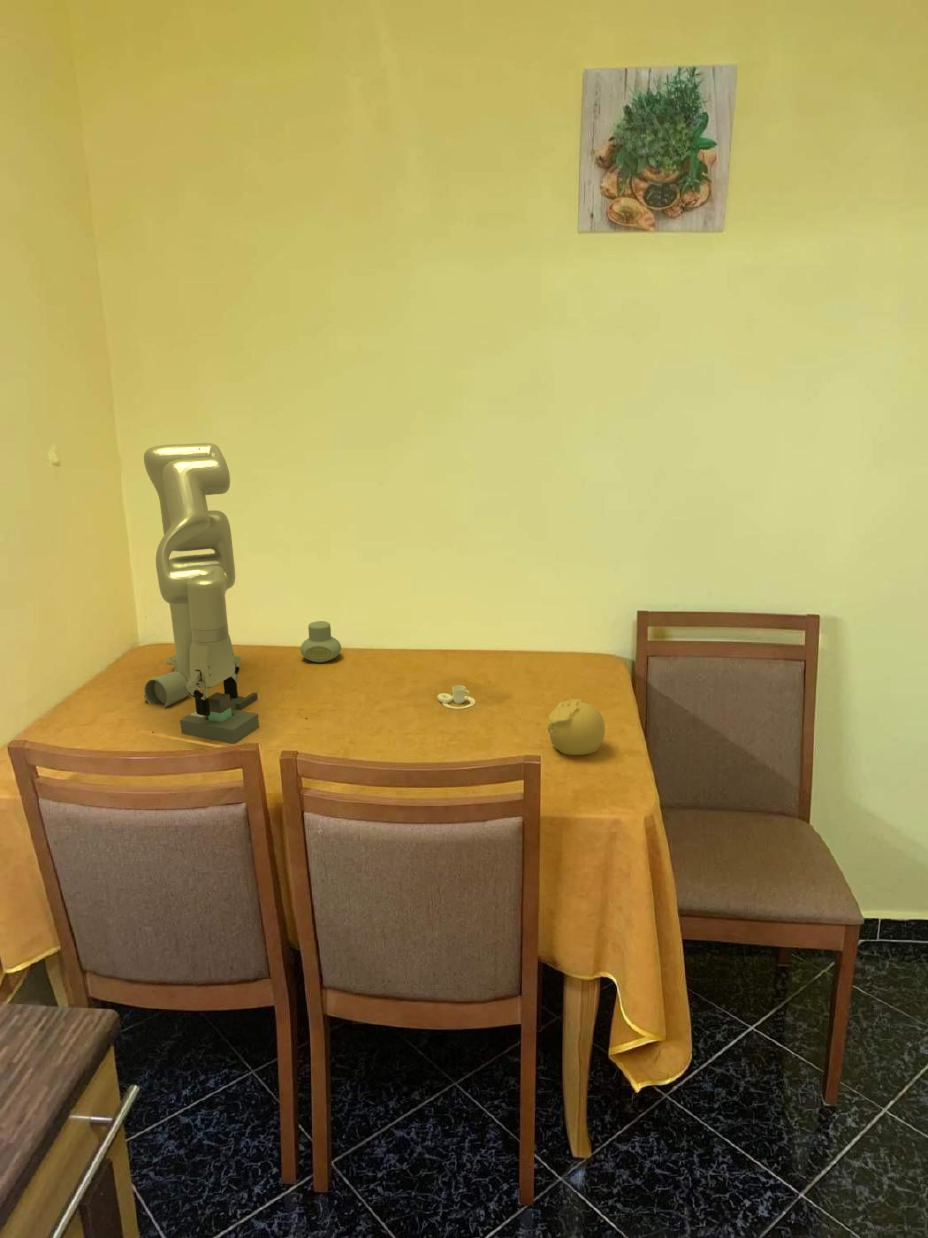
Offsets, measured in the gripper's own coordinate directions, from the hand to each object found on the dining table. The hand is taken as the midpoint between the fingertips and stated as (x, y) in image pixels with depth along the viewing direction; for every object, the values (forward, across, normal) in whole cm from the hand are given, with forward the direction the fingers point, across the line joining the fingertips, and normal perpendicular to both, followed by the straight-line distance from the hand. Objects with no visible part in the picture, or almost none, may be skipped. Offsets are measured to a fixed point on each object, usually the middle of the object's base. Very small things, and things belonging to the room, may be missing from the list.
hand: (217, 705), depth 191 cm
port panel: (+6, 0, 0) cm, 6 cm away
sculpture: (+6, -20, +76) cm, 78 cm away
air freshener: (+7, -48, -3) cm, 49 cm away
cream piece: (+7, -37, +41) cm, 56 cm away
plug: (+5, +1, +1) cm, 6 cm away
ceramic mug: (+7, -9, -23) cm, 26 cm away
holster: (+7, -14, -6) cm, 16 cm away
